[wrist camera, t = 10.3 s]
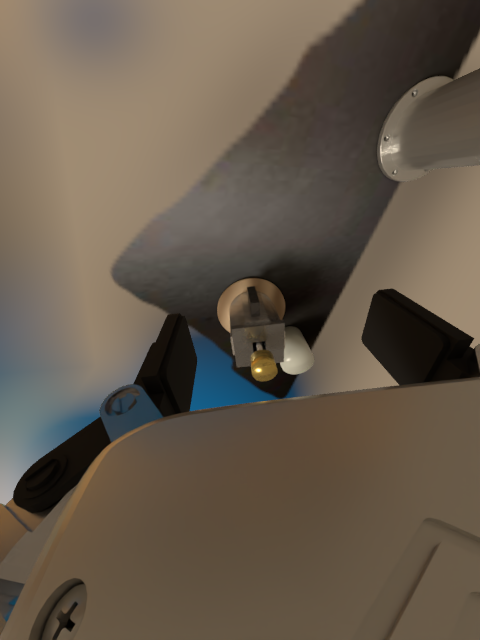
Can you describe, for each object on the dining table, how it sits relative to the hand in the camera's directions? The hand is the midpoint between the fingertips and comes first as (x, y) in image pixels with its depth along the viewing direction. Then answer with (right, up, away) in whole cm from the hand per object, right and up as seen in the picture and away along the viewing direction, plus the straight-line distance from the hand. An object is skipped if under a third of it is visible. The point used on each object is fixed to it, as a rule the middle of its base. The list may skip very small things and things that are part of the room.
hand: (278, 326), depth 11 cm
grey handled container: (+1, +4, +38) cm, 38 cm away
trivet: (+1, +3, +39) cm, 39 cm away
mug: (+11, -5, +45) cm, 46 cm away
